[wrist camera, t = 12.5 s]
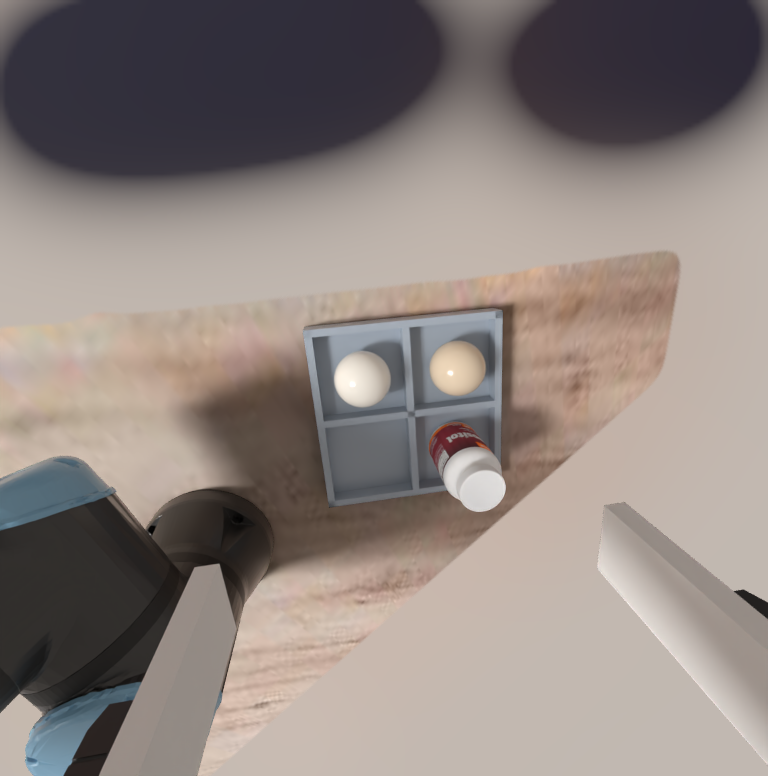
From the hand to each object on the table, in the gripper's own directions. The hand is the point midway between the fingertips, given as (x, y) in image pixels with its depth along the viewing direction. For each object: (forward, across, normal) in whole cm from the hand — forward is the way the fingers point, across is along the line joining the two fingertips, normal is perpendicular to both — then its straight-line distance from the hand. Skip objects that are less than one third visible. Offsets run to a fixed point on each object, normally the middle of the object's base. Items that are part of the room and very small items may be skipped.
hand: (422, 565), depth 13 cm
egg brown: (+32, +10, -2) cm, 34 cm away
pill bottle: (+32, +10, -12) cm, 36 cm away
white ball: (+32, 0, -2) cm, 32 cm away
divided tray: (+33, +5, -7) cm, 34 cm away
